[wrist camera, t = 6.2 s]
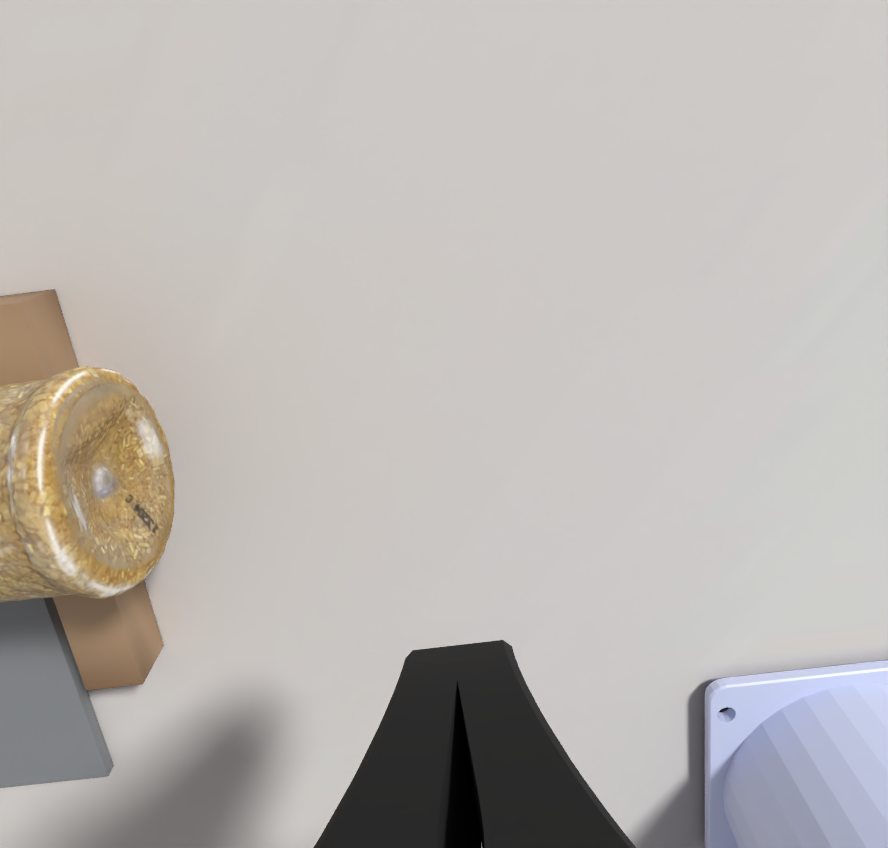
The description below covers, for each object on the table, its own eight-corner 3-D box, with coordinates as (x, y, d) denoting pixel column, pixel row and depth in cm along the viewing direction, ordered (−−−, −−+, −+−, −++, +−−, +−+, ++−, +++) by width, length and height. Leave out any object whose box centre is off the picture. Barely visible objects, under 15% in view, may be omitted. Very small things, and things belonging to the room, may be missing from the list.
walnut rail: (163, 645, 21) (142, 684, 19) (110, 651, 21) (86, 690, 19) (54, 289, 17) (19, 302, 16) (-9, 297, 17) (-50, 311, 16)
